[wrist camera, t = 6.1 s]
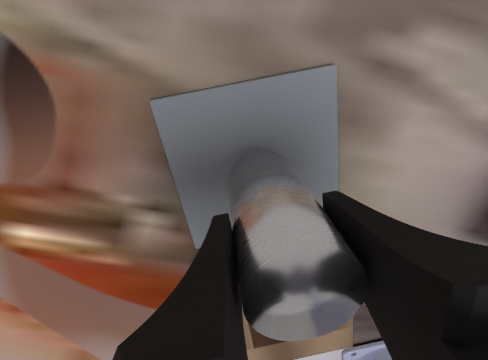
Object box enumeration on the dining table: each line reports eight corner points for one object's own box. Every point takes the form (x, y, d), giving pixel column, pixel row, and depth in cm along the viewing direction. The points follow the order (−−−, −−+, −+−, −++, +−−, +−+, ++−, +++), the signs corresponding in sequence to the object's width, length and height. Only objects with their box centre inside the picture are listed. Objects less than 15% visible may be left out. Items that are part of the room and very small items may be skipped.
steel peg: (294, 144, 15) (369, 234, 8) (300, 207, 17) (366, 327, 10) (220, 158, 15) (231, 262, 8) (233, 221, 17) (252, 351, 10)
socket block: (337, 226, 21) (353, 250, 19) (339, 319, 25) (352, 346, 23) (199, 256, 21) (198, 282, 18) (226, 343, 25) (228, 374, 23)
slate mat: (333, 63, 16) (336, 64, 15) (337, 215, 20) (339, 218, 20) (150, 99, 16) (149, 101, 15) (195, 245, 20) (195, 248, 20)
